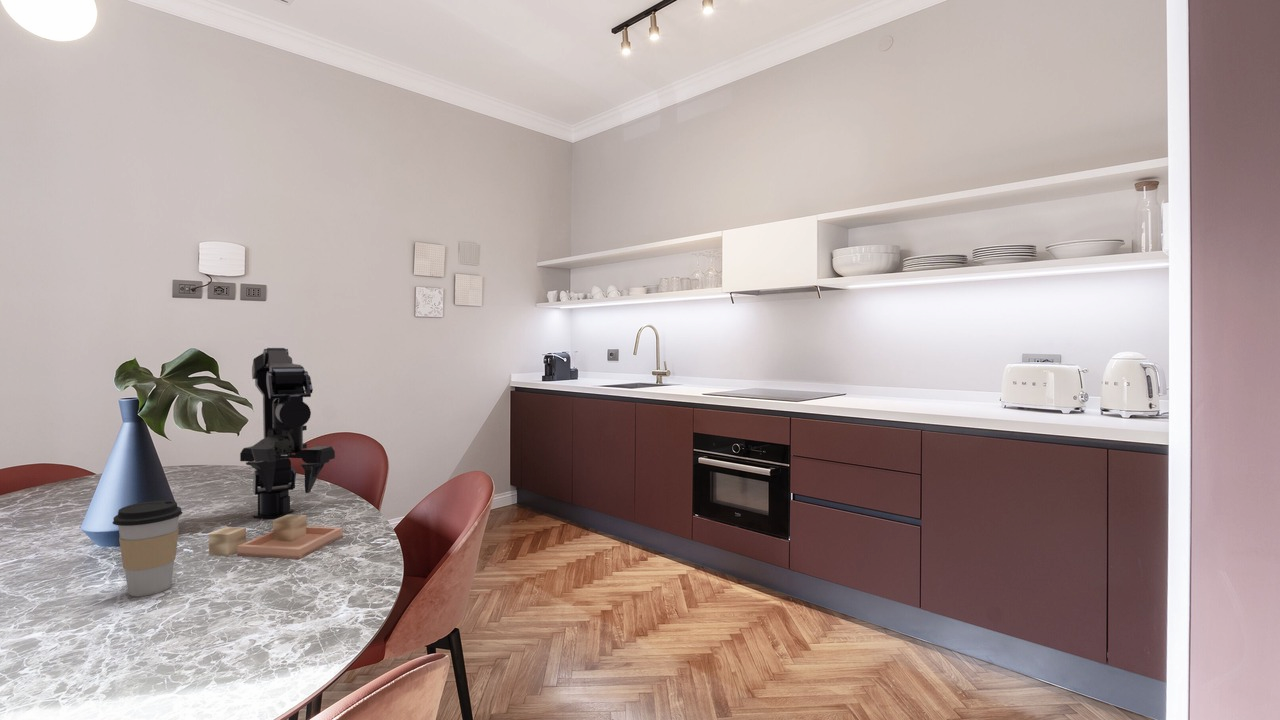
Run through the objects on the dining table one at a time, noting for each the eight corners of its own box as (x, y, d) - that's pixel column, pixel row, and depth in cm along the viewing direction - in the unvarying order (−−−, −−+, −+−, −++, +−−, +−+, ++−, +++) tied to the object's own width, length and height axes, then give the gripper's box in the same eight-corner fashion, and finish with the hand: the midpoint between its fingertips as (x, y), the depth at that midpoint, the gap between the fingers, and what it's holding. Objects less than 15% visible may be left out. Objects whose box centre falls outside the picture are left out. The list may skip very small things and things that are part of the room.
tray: (237, 555, 119) (237, 546, 119) (286, 533, 133) (286, 525, 133) (299, 559, 117) (299, 549, 117) (342, 536, 131) (342, 527, 131)
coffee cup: (196, 580, 106) (195, 500, 106) (148, 602, 97) (147, 515, 97) (150, 577, 107) (149, 498, 107) (98, 599, 98) (96, 513, 97)
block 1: (209, 555, 119) (208, 533, 119) (227, 547, 124) (226, 526, 124) (228, 556, 119) (228, 534, 119) (246, 548, 123) (245, 527, 123)
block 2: (273, 540, 126) (273, 520, 126) (288, 533, 131) (288, 514, 131) (292, 541, 126) (291, 521, 126) (306, 534, 130) (306, 515, 130)
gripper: (219, 426, 120) (219, 500, 120) (303, 428, 119) (303, 503, 119) (258, 420, 131) (259, 487, 132) (336, 421, 130) (336, 489, 130)
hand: (288, 492), depth 128 cm, fingers open, 9 cm apart
